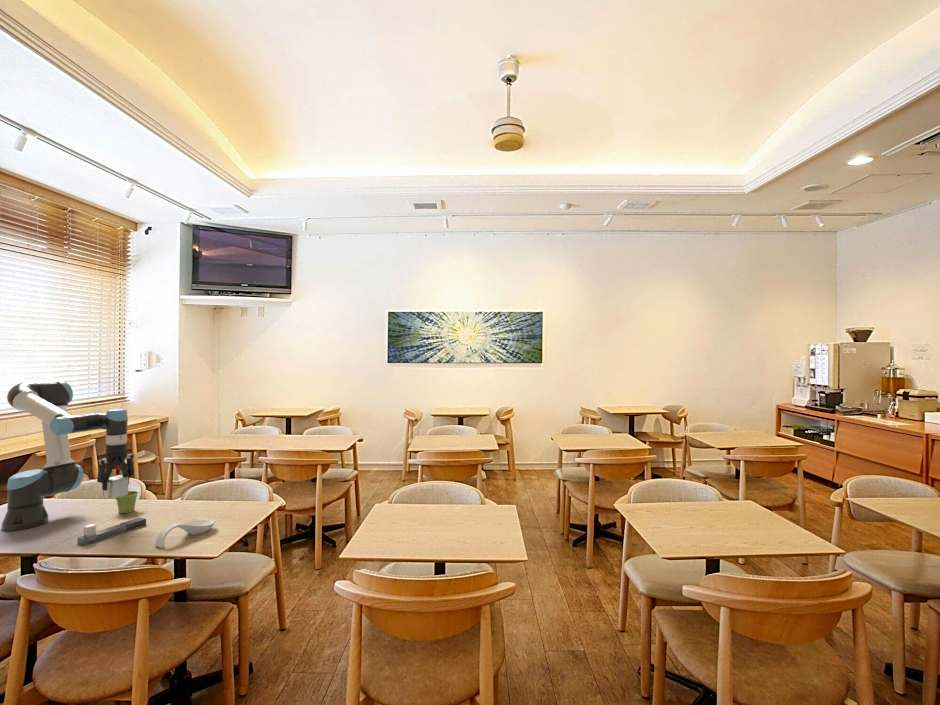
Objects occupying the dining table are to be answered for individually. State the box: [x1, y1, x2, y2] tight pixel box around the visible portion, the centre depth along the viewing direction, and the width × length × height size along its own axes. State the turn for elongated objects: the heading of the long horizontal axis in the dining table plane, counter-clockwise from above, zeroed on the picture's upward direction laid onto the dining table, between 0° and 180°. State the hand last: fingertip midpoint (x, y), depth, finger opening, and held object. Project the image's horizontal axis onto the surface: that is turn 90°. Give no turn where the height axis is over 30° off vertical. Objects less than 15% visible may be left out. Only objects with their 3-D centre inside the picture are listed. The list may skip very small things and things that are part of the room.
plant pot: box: [115, 490, 139, 514], centre depth 223 cm, size 9×9×9 cm
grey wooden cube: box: [102, 474, 129, 499], centre depth 206 cm, size 6×6×8 cm
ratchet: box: [77, 516, 147, 546], centre depth 196 cm, size 24×5×6 cm, turn 158°
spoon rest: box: [154, 519, 216, 549], centre depth 193 cm, size 24×12×7 cm, turn 161°
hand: (115, 494), depth 206 cm, fingers closed on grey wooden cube, 6 cm apart
